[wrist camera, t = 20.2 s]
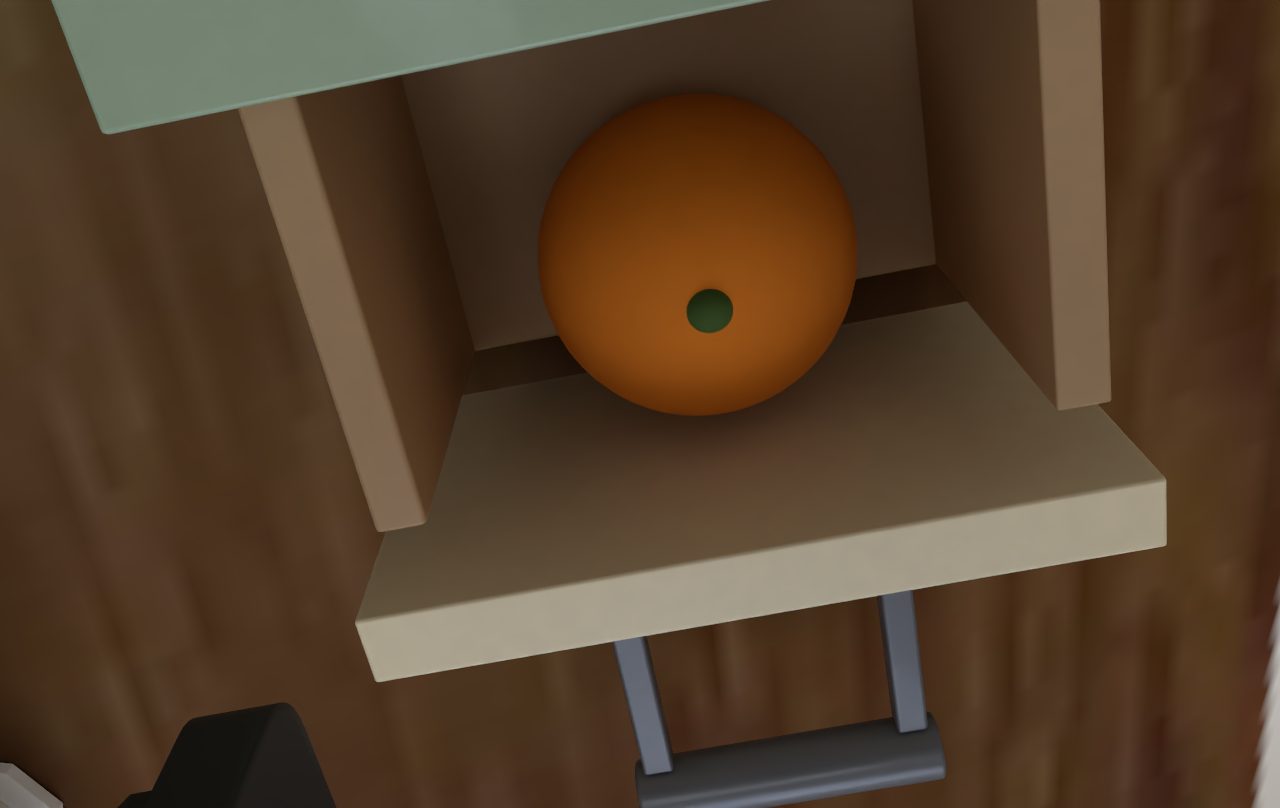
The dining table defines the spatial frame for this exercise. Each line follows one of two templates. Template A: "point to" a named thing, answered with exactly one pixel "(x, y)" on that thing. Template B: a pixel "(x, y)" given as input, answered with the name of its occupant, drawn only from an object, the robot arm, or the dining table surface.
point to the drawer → (740, 440)
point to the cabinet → (308, 45)
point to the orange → (697, 254)
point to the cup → (23, 790)
